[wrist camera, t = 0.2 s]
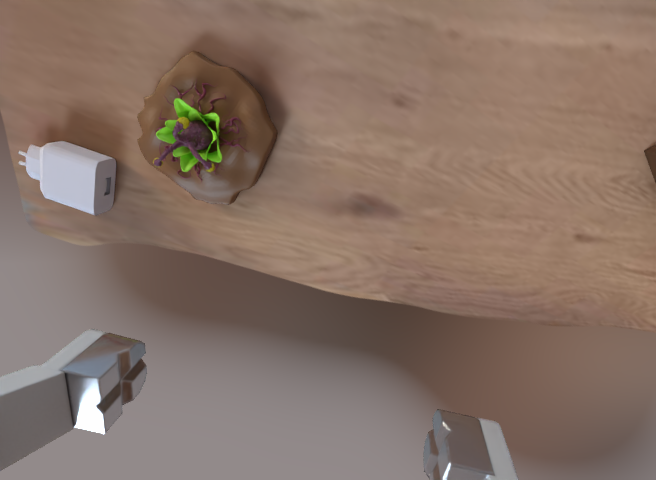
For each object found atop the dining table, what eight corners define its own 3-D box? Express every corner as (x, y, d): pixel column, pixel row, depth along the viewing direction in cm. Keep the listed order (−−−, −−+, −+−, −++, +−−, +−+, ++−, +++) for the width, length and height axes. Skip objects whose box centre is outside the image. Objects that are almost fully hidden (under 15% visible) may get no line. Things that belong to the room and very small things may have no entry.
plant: (299, 123, 54) (279, 130, 44) (230, 219, 62) (198, 244, 51) (188, 29, 52) (139, 12, 42) (129, 139, 59) (74, 149, 49)
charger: (32, 128, 61) (117, 157, 61) (33, 180, 65) (113, 208, 64) (4, 130, 57) (96, 162, 56) (7, 186, 60) (93, 217, 60)
